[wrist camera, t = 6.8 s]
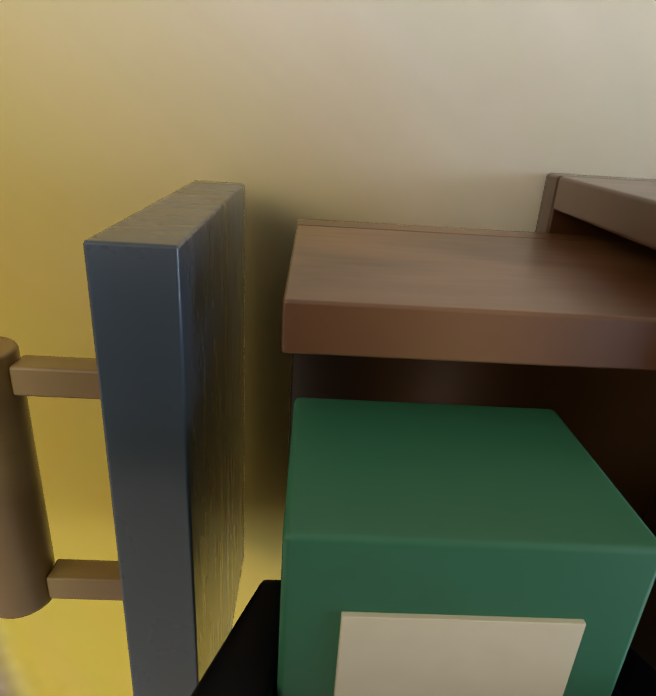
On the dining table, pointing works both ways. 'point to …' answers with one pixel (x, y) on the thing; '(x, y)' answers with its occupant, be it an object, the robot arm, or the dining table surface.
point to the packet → (453, 555)
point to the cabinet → (612, 221)
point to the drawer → (304, 386)
